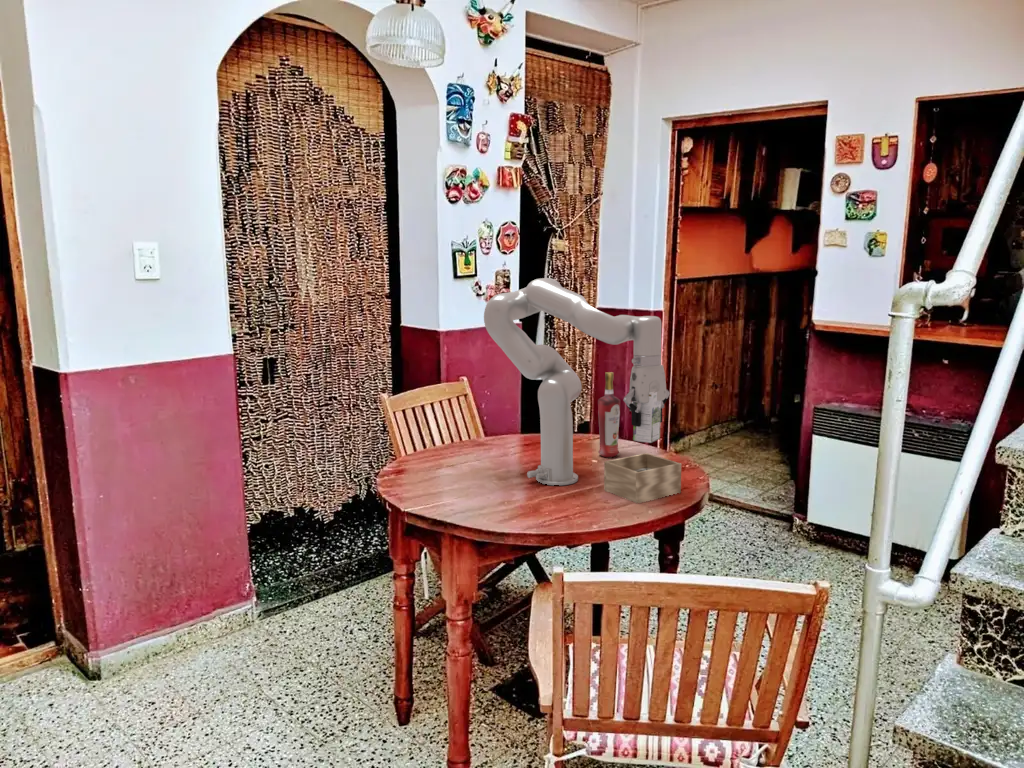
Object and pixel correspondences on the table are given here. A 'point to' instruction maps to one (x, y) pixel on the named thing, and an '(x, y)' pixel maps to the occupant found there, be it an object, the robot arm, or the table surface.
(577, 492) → the table surface
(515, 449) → the table surface
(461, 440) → the table surface
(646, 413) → the syrup box
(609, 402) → the liquor
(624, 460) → the box
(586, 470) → the table surface
